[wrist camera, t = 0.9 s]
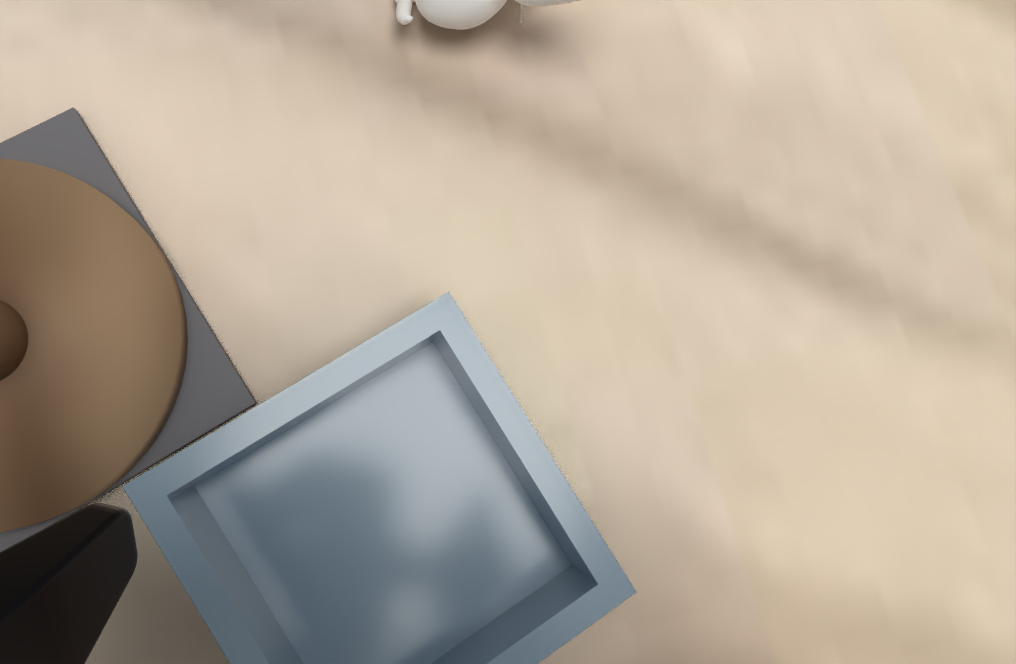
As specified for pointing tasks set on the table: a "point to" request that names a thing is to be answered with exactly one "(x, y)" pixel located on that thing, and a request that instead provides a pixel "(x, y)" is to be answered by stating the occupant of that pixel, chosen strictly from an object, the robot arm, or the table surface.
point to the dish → (384, 515)
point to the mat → (209, 371)
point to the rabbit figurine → (462, 11)
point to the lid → (78, 343)
